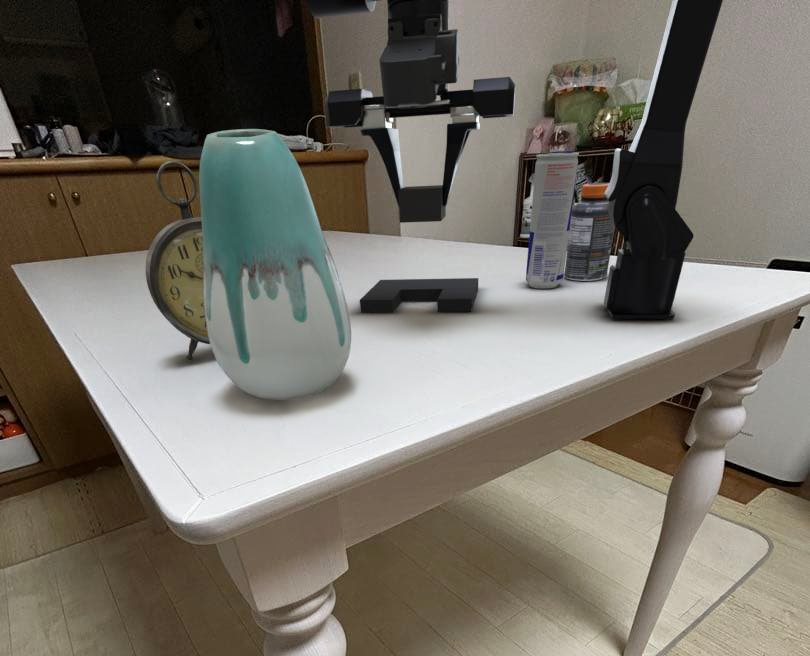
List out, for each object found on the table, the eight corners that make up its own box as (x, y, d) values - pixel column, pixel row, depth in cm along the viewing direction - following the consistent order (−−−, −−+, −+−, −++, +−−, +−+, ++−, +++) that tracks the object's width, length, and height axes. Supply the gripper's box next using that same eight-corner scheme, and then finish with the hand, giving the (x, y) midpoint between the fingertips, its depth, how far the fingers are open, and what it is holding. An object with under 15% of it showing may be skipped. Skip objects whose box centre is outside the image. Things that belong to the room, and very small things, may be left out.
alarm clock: (180, 368, 51) (107, 168, 41) (171, 354, 55) (102, 168, 45) (284, 342, 55) (241, 153, 45) (268, 330, 59) (225, 154, 48)
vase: (337, 414, 40) (296, 118, 29) (200, 411, 42) (114, 132, 31) (369, 364, 49) (347, 124, 38) (255, 363, 51) (204, 134, 40)
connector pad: (445, 216, 59) (445, 184, 57) (441, 221, 55) (441, 187, 54) (406, 217, 60) (405, 186, 58) (399, 222, 56) (398, 189, 54)
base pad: (478, 289, 72) (478, 277, 71) (471, 312, 62) (471, 298, 61) (381, 291, 74) (380, 279, 73) (360, 312, 65) (359, 299, 64)
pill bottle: (601, 272, 77) (617, 180, 70) (610, 281, 72) (627, 183, 65) (560, 274, 77) (572, 182, 70) (566, 282, 72) (579, 185, 66)
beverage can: (564, 281, 73) (581, 149, 64) (560, 290, 69) (577, 150, 60) (527, 281, 74) (539, 152, 65) (522, 289, 70) (533, 153, 61)
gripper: (293, -2, 43) (321, 218, 52) (521, -27, 40) (506, 211, 49) (331, 22, 51) (348, 207, 61) (520, 3, 48) (508, 200, 58)
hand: (422, 206), depth 57 cm, fingers closed on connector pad, 4 cm apart
